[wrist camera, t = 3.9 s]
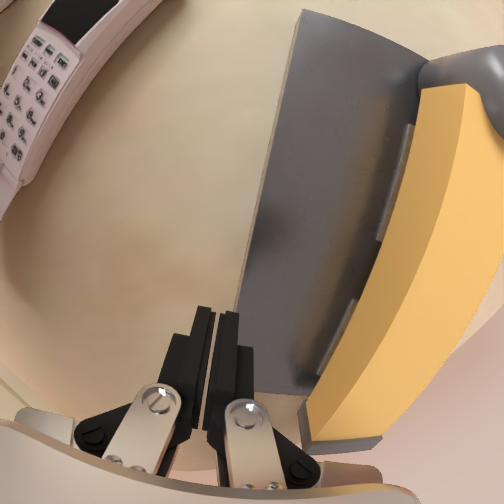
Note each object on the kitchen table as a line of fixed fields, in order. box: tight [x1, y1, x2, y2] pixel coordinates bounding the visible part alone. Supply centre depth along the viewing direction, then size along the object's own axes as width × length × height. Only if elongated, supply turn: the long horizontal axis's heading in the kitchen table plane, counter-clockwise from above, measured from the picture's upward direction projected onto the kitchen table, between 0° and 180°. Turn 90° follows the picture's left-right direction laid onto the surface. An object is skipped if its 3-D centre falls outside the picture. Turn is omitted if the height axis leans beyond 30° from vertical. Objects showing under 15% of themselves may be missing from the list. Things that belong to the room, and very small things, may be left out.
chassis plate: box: [233, 9, 429, 396], centre depth 14 cm, size 22×14×2 cm, turn 168°
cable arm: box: [297, 45, 504, 455], centre depth 11 cm, size 23×5×5 cm, turn 168°
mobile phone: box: [0, 0, 163, 221], centre depth 9 cm, size 6×6×25 cm
